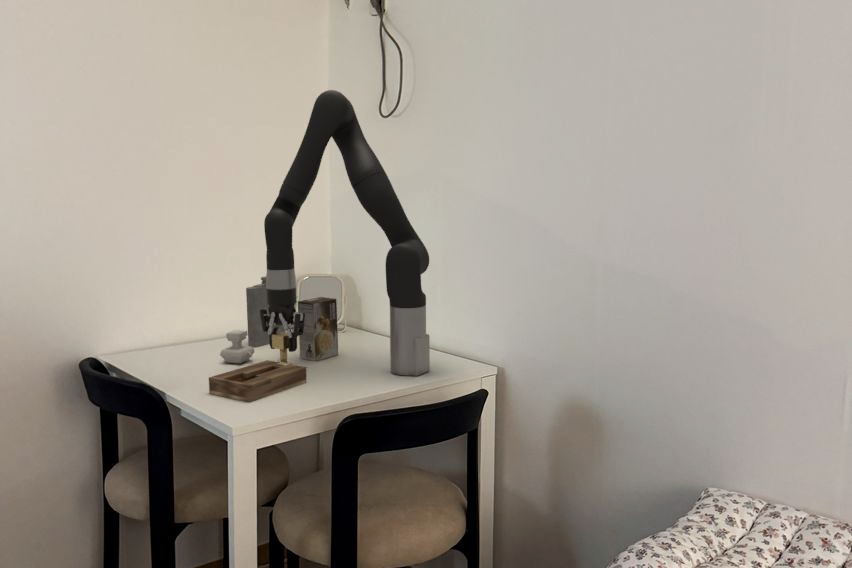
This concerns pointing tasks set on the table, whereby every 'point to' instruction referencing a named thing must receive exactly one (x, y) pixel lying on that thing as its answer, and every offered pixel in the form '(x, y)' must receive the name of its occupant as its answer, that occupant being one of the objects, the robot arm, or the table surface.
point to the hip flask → (257, 315)
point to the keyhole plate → (257, 380)
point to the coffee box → (318, 328)
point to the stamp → (237, 348)
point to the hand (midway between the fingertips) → (283, 349)
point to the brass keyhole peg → (281, 345)
